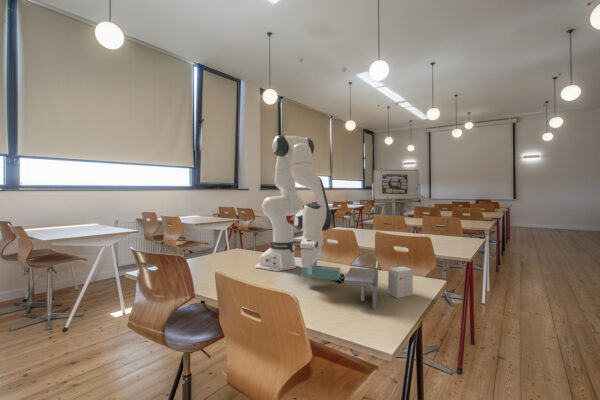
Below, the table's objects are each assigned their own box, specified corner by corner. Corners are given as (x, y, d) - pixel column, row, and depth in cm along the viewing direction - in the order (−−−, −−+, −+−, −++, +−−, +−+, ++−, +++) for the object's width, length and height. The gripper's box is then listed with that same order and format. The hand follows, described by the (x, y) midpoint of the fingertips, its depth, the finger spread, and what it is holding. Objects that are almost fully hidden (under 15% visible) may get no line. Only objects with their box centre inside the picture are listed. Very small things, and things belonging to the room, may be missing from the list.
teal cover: (301, 276, 130) (301, 267, 130) (305, 273, 135) (305, 264, 134) (337, 280, 125) (338, 271, 125) (340, 276, 130) (340, 267, 130)
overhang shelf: (344, 305, 108) (344, 279, 108) (350, 289, 125) (350, 267, 125) (375, 309, 105) (376, 282, 105) (377, 292, 122) (377, 269, 122)
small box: (403, 291, 124) (403, 266, 123) (413, 295, 119) (413, 269, 118) (387, 293, 121) (387, 268, 120) (397, 298, 115) (397, 271, 115)
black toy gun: (310, 267, 158) (327, 265, 162) (310, 269, 159) (327, 268, 162) (335, 281, 133) (354, 279, 137) (335, 285, 133) (354, 282, 137)
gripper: (312, 236, 141) (311, 265, 142) (298, 244, 122) (298, 277, 122) (325, 237, 139) (324, 266, 140) (313, 245, 120) (313, 279, 120)
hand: (312, 271), depth 131 cm, fingers closed on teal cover, 5 cm apart
